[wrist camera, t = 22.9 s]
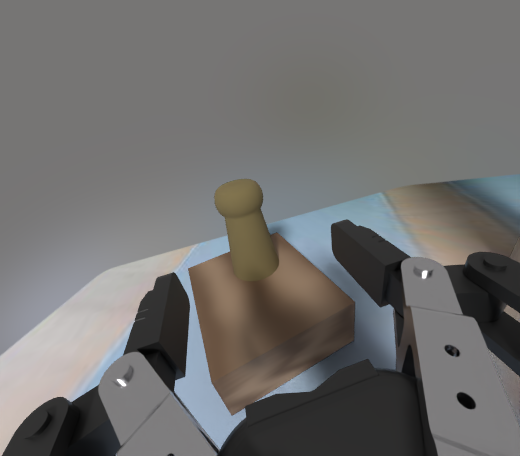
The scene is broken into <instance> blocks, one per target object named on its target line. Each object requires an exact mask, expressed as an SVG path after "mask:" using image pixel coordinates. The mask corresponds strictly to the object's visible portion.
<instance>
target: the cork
mask: <svg viewBox="0 0 520 456" xmlns="http://www.w3.org/2000/svg"><path fill="white" fill-rule="evenodd" d="M214 197H215V205H216V208H217V210H218V211H219V213H220V214H221V215H222V216H224V217H225V221H226V228H227V234H228V240H229V246H230V252H231V259H232V265H233V271H234V274H235V275H236V277H237V278H239V279H241V280H244V281H258V280H261V279H265V278H267V277H268V276H270V275H272V274H273V273H274V272H275V271H276V270H277V268H278V266H279V258H278V255H277V253H276V250H275V247H274V244H273V242H272V239H271V236H270V233H269V231H268V228H267V225H266V222H265V220H264V217H263V214H262V211H261V209H260V208H261V206H262V203H263V193H262V190H261V188H260V186H259V185H258V184H257V182H256V181H253V180H251V179H239V180H234V181H230V182H227V183H225V184H223V185H221V186H220V187H219V188H218V189H217V190H216V192H215V196H214Z"/></svg>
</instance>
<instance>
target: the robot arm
mask: <svg viewBox="0 0 520 456" xmlns="http://www.w3.org/2000/svg"><path fill="white" fill-rule="evenodd" d="M331 237H332V251H333V254H334V256H335V258H336V259H337V261H338V262H339V263H340V264H341V265H342V266H343V267H344V268H345V269H346V270H347V272H348V273H349V274H350V275H351V276H352V277H353V278H354V279H355V280H356V281H357V283H358V284H359V285H360V286H361V287H362V288H363V289H364V290H365V291H366V292H367V293H368V295H369V296H370V297H371V298H372V299H373V300H374V301H375V302H376V303H377V304H378V306H379V307H383V306H386V305H388V304H390V305H391V306H392V307H393V308H394V310H393V318H394V331H395V344H396V371H395V370H390V369H382V368H374V367H373V366H372V364H371V363H370V361H369V360H368V359H366V360H364V361H361V362H358V363H356V364H353V365H351V366H348V367H345V368H343V369H340V370H338V371H337V372H336V373H335V374H333V375H332V376H331V377H330V378H328V379H327V380H326V381H325V382H324V383H322V384H321V385H320V386H319V387H317V388H316V389H315V390H313V391H311V392H300V393H283V394H275V395H272V396H270V397H267V398H265V399H262V400H259V401H257V402H254V403H252V404H249V405H246V406H245V410H246V418H245V419H244V420H242V421H241V422H240V423H239V424H238V425H237V426H236V427H235V428H234V430H233V431H232V432H231V434H230V435H229V436H228V438H227V439H226V441H225V442H224V444H223V445H222V447H221V449H219V448H218V447H217V445H216V444H215V443H214V441H213V440H212V439H211V438H210V437H209V435H208V434H207V433H206V432H205V430H204V429H203V428H202V427H201V425H200V424H199V423H198V421H197V420H196V419H195V418H194V416H193V415H192V414H191V412H190V411H189V410H188V408H187V407H186V406H185V405H184V403H183V402H182V401H181V399H180V398H179V397H178V395H177V394H176V393H175V392H174V386H175V380H177V379H180V378H183V377H185V371H186V356H187V342H188V327H189V312H190V303H189V298H188V296H187V293H186V292H185V290H184V288H183V286H182V284H181V282H180V280H179V279H178V277H177V275H176V274H175V273H174V272H173V273H170V274H167V275H164V276H160V277H158V278H157V279H156V282H155V285H154V289H153V290H152V291H149V292H148V293H147V294H146V295H145V297H144V298H143V299H142V301H141V303H140V306H139V309H138V313H137V315H136V318H135V322H134V324H133V327H132V330H131V333H130V336H129V339H128V342H127V345H126V348H125V351H124V354H123V356H122V357H120V358H119V359H117V360H116V361H115V362H114V363H113V364H112V365H111V366H110V367H109V368H108V369H107V370H106V372H105V373H104V375H103V376H102V378H101V381H100V383H99V385H98V386H96V387H94V388H93V389H91V390H90V391H88V392H87V393H85V394H84V395H82V396H80V397H79V398H77V399H76V400H74V401H73V402H70V401H69V400H67V399H66V398H64V397H57V398H53V399H51V400H49V401H47V402H45V403H44V404H42V405H41V406H39V407H38V408H37V409H36V410H34V411H33V412H32V413H31V414H30V415H29V416H28V417H27V418H26V419H25V420H24V421H23V423H22V424H21V425H20V426H19V428H18V429H17V430H16V432H15V433H14V435H13V437H12V438H11V440H10V442H9V444H8V446H7V447H6V449H5V451H4V453H3V455H2V456H116V453H117V456H520V426H519V424H518V421H517V419H516V417H515V414H514V412H513V409H512V407H511V404H510V402H509V399H508V397H507V394H506V392H505V390H504V387H503V385H502V382H501V380H500V377H499V375H498V372H497V370H496V368H495V365H494V363H493V360H492V358H491V355H490V353H489V350H490V351H491V352H493V353H494V354H495V355H496V356H497V357H498V358H499V359H500V360H502V361H503V362H504V363H505V364H506V365H507V366H508V367H509V368H511V369H512V370H513V371H514V372H515V373H516V374H517V375H519V376H520V323H519V322H518V321H517V320H515V319H514V318H512V317H511V316H510V315H508V314H507V313H505V312H504V309H505V307H506V305H509V306H510V307H512V308H513V309H515V310H516V311H518V312H519V313H520V236H519V239H518V241H517V243H516V245H515V247H514V249H513V251H512V253H511V255H510V258H509V257H506V256H503V255H500V254H496V253H490V252H477V253H473V254H471V255H469V256H468V258H467V261H466V264H464V265H450V266H442V265H441V264H440V263H438V262H436V261H434V260H431V259H428V258H423V257H410V256H408V255H407V254H406V253H404V252H403V251H401V250H400V249H398V248H397V247H395V246H394V245H393V244H391V243H390V242H388V241H385V239H384V238H382V237H381V236H379V235H378V234H377V233H375V232H374V231H372V230H371V229H368V228H366V227H363V226H356V225H355V224H353V223H352V222H351V221H349V220H343V221H340V222H337V223H333V224H332V225H331ZM488 349H489V350H488Z"/></svg>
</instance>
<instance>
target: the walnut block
mask: <svg viewBox="0 0 520 456" xmlns="http://www.w3.org/2000/svg"><path fill="white" fill-rule="evenodd" d="M270 236H271V239H272V242H273V244H274V247H275V250H276V253H277V255H278V258H279V266H278V268H277V270H276V271H275V272H274V273H273V274H272V275H270V276H268V277H267V278H265V279H261V280H258V281H244V280H241V279H239V278H237V277H236V275H235V274H234V271H233V265H232V259H231V252H228V253H225V254H223V255H220V256H218V257H215V258H213V259H210V260H208V261H206V262H203V263H201V264H198V265H196V266H193V267H191V268H188V271H189V276H190V280H191V285H192V290H193V295H194V300H195V305H196V309H197V314H198V319H199V324H200V329H201V333H202V338H203V343H204V348H205V353H206V358H207V362H208V367H209V372H210V377H211V382H212V384H213V386H214V387H215V389H216V391H217V392H218V394H219V395H220V397H221V399H222V400H223V402H224V404H225V405H226V407H227V409H228V410H229V412H230V413H231V415H234V414H236V413H237V412H239V411H241V410H242V409H244V408H245V406H246V405H249V404H252V403H253V402H255V401H257V400H258V399H260V398H262V397H263V396H265V395H266V394H268V393H270V392H271V391H273V390H274V389H276V388H278V387H279V386H281V385H283V384H284V383H286V382H287V381H289V380H291V379H292V378H294V377H295V376H297V375H299V374H300V373H302V372H304V371H305V370H307V369H308V368H310V367H312V366H313V365H315V364H316V363H318V362H320V361H321V360H323V359H325V358H326V357H328V356H329V355H331V354H333V353H334V352H336V351H337V350H339V349H341V348H342V347H344V346H345V345H347V344H349V343H350V342H352V341H354V322H355V302H354V301H353V300H352V299H351V298H350V297H349V296H348V295H347V294H345V293H344V292H343V291H342V290H341V289H340V288H339V287H338V286H337V285H335V284H334V283H333V282H332V281H331V280H330V279H329V278H328V277H326V276H325V275H324V274H323V273H322V272H321V271H320V270H319V269H317V268H316V267H315V266H314V265H313V264H312V263H311V262H310V261H308V260H307V259H306V258H305V257H304V256H303V255H302V254H301V253H300V252H298V251H297V250H296V249H295V248H294V247H293V246H292V245H291V244H289V243H288V242H287V241H286V240H285V239H284V238H283V237H282V236H280V235H279V234H278V233H277V232H276V233H274V234H272V235H270Z"/></svg>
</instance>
